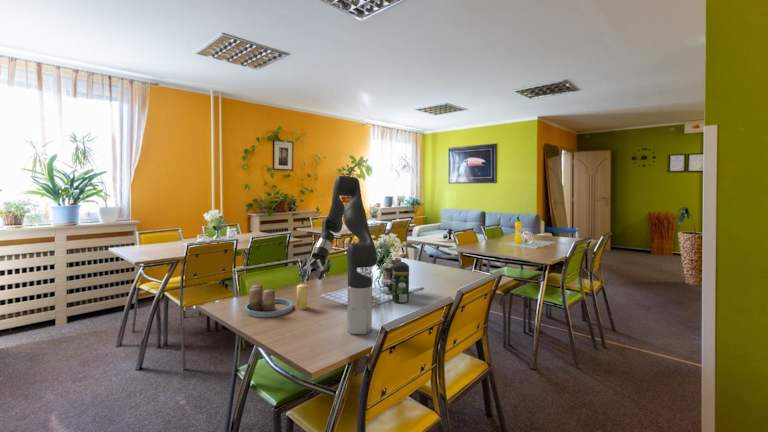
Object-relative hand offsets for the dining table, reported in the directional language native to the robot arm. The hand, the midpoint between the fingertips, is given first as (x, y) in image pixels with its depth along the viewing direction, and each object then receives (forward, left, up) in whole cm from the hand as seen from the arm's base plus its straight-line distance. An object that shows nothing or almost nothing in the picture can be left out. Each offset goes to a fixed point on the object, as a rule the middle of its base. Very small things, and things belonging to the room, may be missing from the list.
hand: (310, 278), depth 171 cm
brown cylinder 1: (-14, +21, -12) cm, 28 cm away
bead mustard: (-7, +2, -12) cm, 14 cm away
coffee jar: (+7, -42, -12) cm, 44 cm away
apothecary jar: (+21, -38, -12) cm, 45 cm away
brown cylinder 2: (-16, +14, -12) cm, 24 cm away
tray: (-10, +16, -12) cm, 22 cm away
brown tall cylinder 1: (-9, +22, -12) cm, 26 cm away
